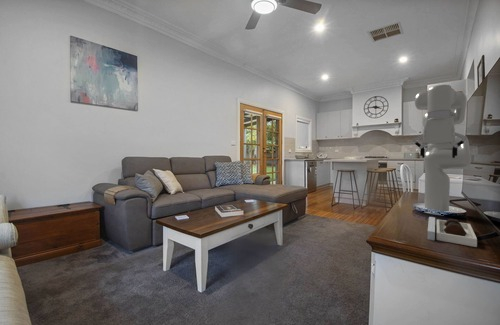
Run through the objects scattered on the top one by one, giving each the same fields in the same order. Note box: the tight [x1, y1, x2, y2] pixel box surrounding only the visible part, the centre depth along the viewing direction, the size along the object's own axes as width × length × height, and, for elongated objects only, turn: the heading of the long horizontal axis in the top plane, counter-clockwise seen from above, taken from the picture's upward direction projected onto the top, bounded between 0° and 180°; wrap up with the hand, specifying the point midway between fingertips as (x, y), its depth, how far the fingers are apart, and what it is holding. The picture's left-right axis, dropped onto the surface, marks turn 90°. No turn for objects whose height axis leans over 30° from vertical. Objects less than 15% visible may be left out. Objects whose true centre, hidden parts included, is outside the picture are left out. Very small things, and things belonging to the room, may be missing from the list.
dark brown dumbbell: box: [444, 218, 467, 236], centre depth 83 cm, size 6×5×15 cm
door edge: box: [426, 216, 436, 241], centre depth 87 cm, size 22×2×3 cm, turn 140°
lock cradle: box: [435, 218, 478, 248], centre depth 83 cm, size 20×10×3 cm, turn 140°
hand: (437, 157), depth 94 cm, fingers open, 9 cm apart
